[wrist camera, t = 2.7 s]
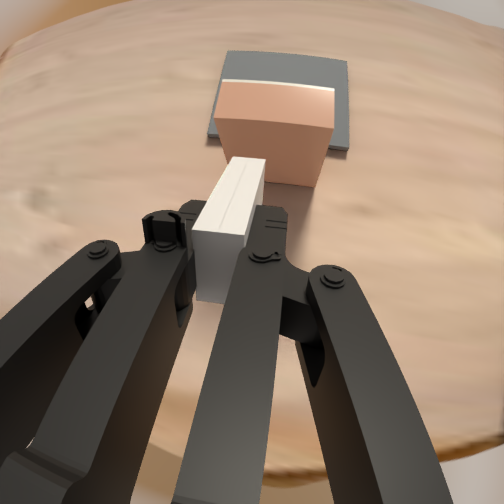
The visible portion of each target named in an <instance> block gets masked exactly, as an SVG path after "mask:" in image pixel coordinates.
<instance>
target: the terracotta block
mask: <svg viewBox="0 0 504 504" xmlns="http://www.w3.org/2000/svg"><path fill="white" fill-rule="evenodd" d="M213 118H214V121H215V124H216V128H217V131H218V134H219V137H220V141H221V144H222V147H223V151H224V154H225V157H226V160H227V164H229V162H230V161H231V159H232V157H245V158H257V159H266V161H265V175H264V182H274V183H283V184H292V185H301V186H309V187H316V183H317V180H318V177H319V174H320V171H321V168H322V165H323V162H324V159H325V156H326V153H327V150H328V147H329V143H330V140H331V137H332V134H333V131H334V88H327V87H319V86H312V85H303V84H294V83H284V82H272V81H257V80H237V79H222V83H221V88H220V92H219V96H218V100H217V104H216V109H215V113H214V117H213Z"/></svg>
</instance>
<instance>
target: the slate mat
mask: <svg viewBox="0 0 504 504" xmlns="http://www.w3.org/2000/svg"><path fill="white" fill-rule="evenodd" d="M222 79H237V80H257V81H272V82H284V83H294V84H303V85H312V86H319V87H327V88H334V131H333V134H332V137H331V140H330V143H329V147H328V148H331V149H338V150H344V151H348V149H349V97H348V72H347V61H343V60H337V59H330V58H323V57H315V56H307V55H298V54H287V53H275V52H258V51H227V55H226V59H225V62H224V66H223V70H222V74H221V78H220V82H219V86H218V90H217V94H216V98H215V102H214V107H213V111H212V115H211V119H210V124H209V128H208V133H207V134H208V137H216V138H220V137H219V134H218V131H217V128H216V124H215V121H214V118H213V117H214V113H215V109H216V104H217V100H218V96H219V92H220V88H221V83H222Z"/></svg>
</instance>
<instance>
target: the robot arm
mask: <svg viewBox="0 0 504 504" xmlns="http://www.w3.org/2000/svg"><path fill="white" fill-rule="evenodd" d="M265 161H266V159H257V158H245V157H232V159H231V161H230V162H229V164H228V166H227V167H226V169H225V171H224V173H223V174H222V176H221V178H220V180H219V181H218V183H217V185H216V187H215V188H214V190H213V192H212V194H211V195H210V197H209V199H208V201H201V200H190V201H188V202H187V203H185V204H183V205H182V206H181V208H180V209H179V211H173V210H161V211H156V212H152V213H150V214H148V215H146V216H145V217H144V218H142V224H143V231H144V237H145V244H144V246H143V247H142V249H141V250H140V251H133V252H122V253H120V250H119V247H118V245H117V243H115V242H113V241H110V240H97V241H95V242H92V243H90V244H88V245H86V246H85V247H83V248H82V249H81V250H80V251H78V252H77V253H76V254H75V255H73V256H72V257H71V258H70V259H68V260H67V261H66V262H65V263H64V264H62V265H61V266H60V267H59V268H58V269H56V270H55V271H54V272H53V273H52V274H50V275H49V276H48V277H47V278H46V279H45V280H43V281H42V282H41V283H40V284H39V285H38V286H37V287H35V288H34V289H33V290H32V291H31V292H30V293H29V294H28V295H26V296H25V297H24V298H23V299H22V300H21V301H20V302H19V303H18V304H17V305H15V306H14V307H13V308H12V309H11V310H10V311H9V312H8V313H7V314H6V315H5V316H4V317H3V318H2V319H1V320H0V504H130V500H131V496H132V492H133V489H134V486H135V483H136V479H137V476H138V473H139V470H140V466H141V463H142V460H143V457H144V453H145V450H146V447H147V444H148V441H149V438H150V434H151V431H152V428H153V425H154V422H155V419H156V416H157V413H158V410H159V407H160V404H161V401H162V398H163V395H164V392H165V389H166V386H167V383H168V380H169V377H170V374H171V371H172V368H173V365H174V362H175V359H176V356H177V354H178V351H179V348H180V345H181V342H182V339H183V336H184V334H185V331H186V328H187V325H188V322H189V320H190V317H191V314H192V310H193V303H192V297H193V294H194V292H195V289H196V298H197V300H199V301H206V302H213V303H220V304H225V305H224V308H223V312H222V315H221V319H220V323H219V326H218V330H217V334H216V337H215V341H214V345H213V348H212V352H211V356H210V359H209V363H208V367H207V370H206V374H205V378H204V381H203V385H202V389H201V393H200V396H199V400H198V404H197V408H196V411H195V415H194V419H193V423H192V426H191V430H190V434H189V438H188V442H187V445H186V449H185V453H184V457H183V461H182V465H181V469H180V473H179V476H178V480H177V484H176V488H175V492H174V496H173V499H172V502H171V504H259V500H260V493H261V486H262V479H263V471H264V464H265V456H266V448H267V440H268V432H269V424H270V415H271V406H272V397H273V388H274V379H275V370H276V360H277V350H278V340H279V334H280V335H283V336H285V337H288V338H290V339H293V340H295V346H296V350H297V353H298V357H299V361H300V365H301V369H302V373H303V377H304V381H305V385H306V389H307V393H308V397H309V401H310V405H311V409H312V413H313V417H314V421H315V425H316V429H317V433H318V437H319V441H320V445H321V449H322V454H323V458H324V462H325V466H326V470H327V474H328V479H329V483H330V487H331V491H332V495H333V500H334V504H453V501H452V498H451V495H450V492H449V489H448V486H447V483H446V480H445V478H444V475H443V472H442V469H441V466H440V464H439V461H438V458H437V456H436V453H435V450H434V448H433V445H432V443H431V440H430V437H429V435H428V432H427V430H426V428H425V425H424V423H423V420H422V418H421V415H420V413H419V411H418V408H417V406H416V403H415V401H414V399H413V397H412V394H411V392H410V390H409V387H408V385H407V383H406V381H405V378H404V376H403V374H402V372H401V370H400V367H399V365H398V363H397V361H396V359H395V357H394V355H393V352H392V350H391V348H390V346H389V344H388V342H387V340H386V338H385V336H384V334H383V332H382V330H381V328H380V325H379V323H378V321H377V319H376V317H375V315H374V313H373V311H372V310H371V308H370V306H369V304H368V302H367V300H366V298H365V296H364V294H363V292H362V290H361V288H360V286H359V284H358V283H357V281H356V279H355V277H354V276H353V275H352V274H351V273H350V272H349V271H347V270H346V269H344V268H341V267H338V266H335V265H321V266H317V267H316V268H314V269H312V271H311V272H310V273H309V272H306V271H303V270H301V269H298V268H296V267H295V266H293V265H292V264H291V263H290V262H289V261H288V260H287V258H286V256H285V246H286V232H287V217H288V214H287V213H286V212H285V210H284V209H283V208H282V207H273V206H264V205H262V202H263V189H264V175H265ZM90 296H91V298H92V301H93V304H92V305H91V306H90V307H88V308H87V307H86V305H85V301H86V300H87V299H88V298H89V297H90ZM33 438H34V439H33ZM32 439H33V441H32ZM31 441H32V443H31V445H30V446H29V447H28V448H26V447H27V446H28V445H29V443H30V442H31Z"/></svg>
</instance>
